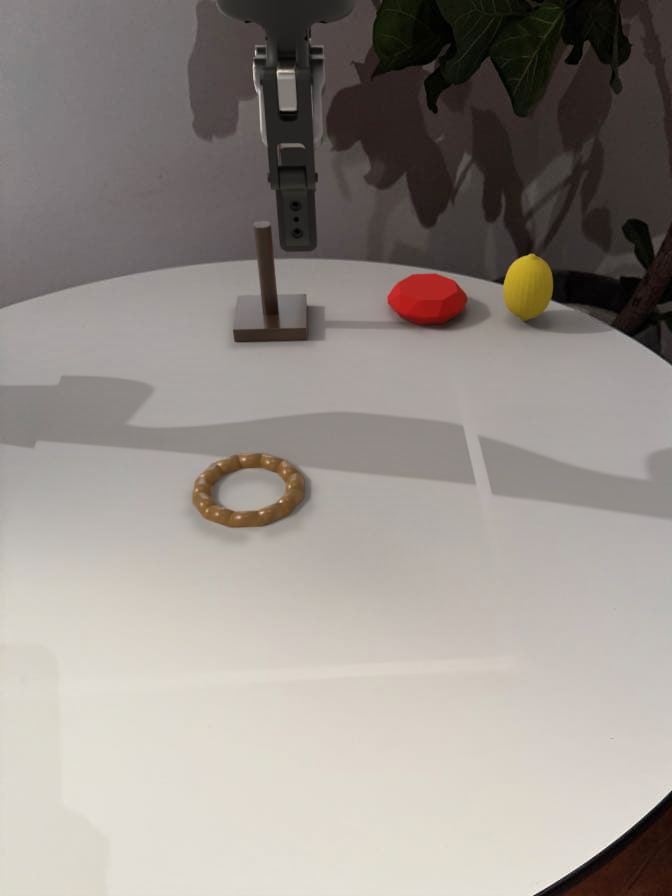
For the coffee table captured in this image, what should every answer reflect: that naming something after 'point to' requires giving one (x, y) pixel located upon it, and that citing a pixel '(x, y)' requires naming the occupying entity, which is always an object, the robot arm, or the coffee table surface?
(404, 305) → the gemstone
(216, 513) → the ring
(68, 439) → the coffee table surface
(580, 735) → the coffee table surface
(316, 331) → the coffee table surface
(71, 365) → the coffee table surface
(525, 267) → the lemon
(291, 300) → the peg stand
